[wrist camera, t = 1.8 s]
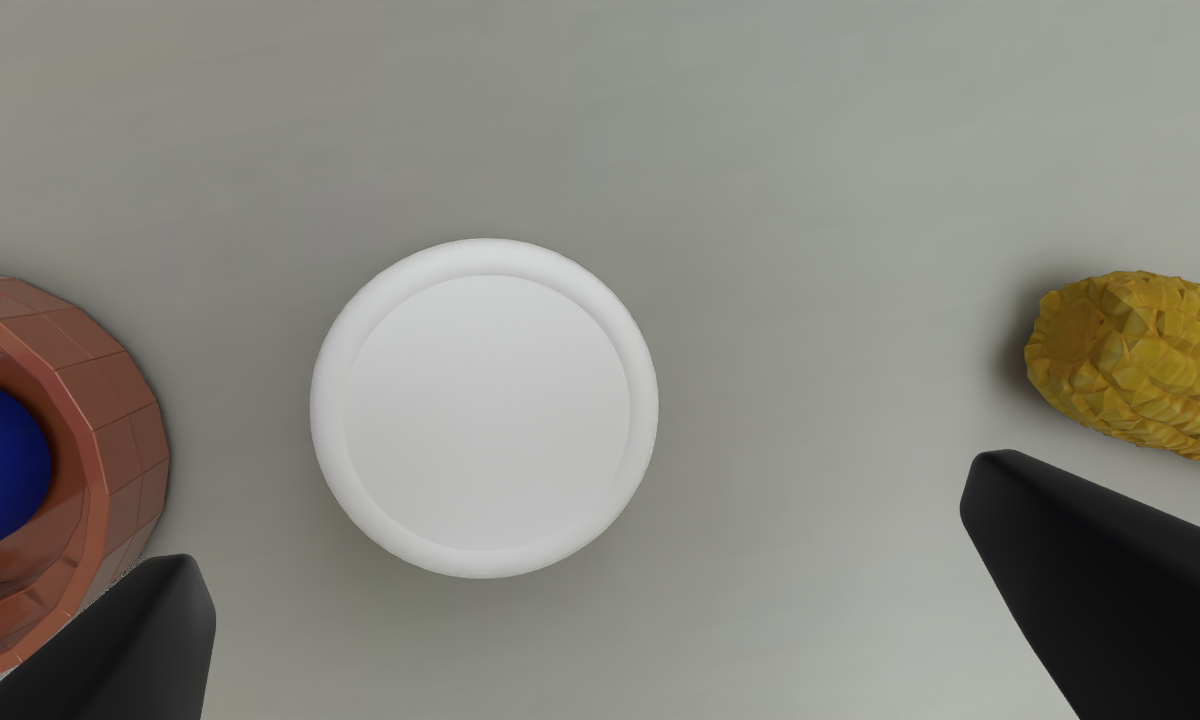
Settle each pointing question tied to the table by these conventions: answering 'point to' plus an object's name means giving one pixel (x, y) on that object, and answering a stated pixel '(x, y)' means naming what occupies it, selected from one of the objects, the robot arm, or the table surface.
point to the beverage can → (20, 466)
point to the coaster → (484, 408)
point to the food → (1123, 358)
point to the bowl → (74, 465)
